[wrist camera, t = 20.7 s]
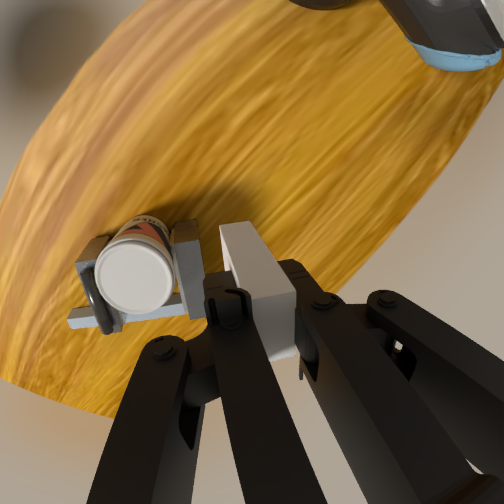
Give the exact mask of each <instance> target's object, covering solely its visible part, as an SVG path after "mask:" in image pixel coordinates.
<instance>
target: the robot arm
mask: <svg viewBox="0 0 504 504" xmlns="http://www.w3.org/2000/svg"><path fill="white" fill-rule="evenodd" d="M289 1H291V2H293V3H295V4H297V5H300V6H303V7H306V8H310V9H315V10H331V9H335V8H338V7H340V6H342V5H344V4H345V3H347V2H349V1H350V0H289ZM379 1H380V3H381V4H382V5H383V6H384V8H385V9H386V10H387V11H388V13H389V14H390V15H391V17H392V18H393V19H394V21H395V22H396V23H397V25H398V26H399V28H400V29H401V30H402V32H403V33H404V35H405V38H406V40H407V41H408V42H409V43H411V44H412V46H413V47H414V48H415V50H416V51H417V53H418V54H419V56H420V57H421V58H422V59H423V61H424V62H426V63H427V64H429V65H430V66H433V67H435V68H437V69H440V70H445V71H453V72H465V71H475V70H481V69H484V68H485V67H486V66H493V65H495V64H496V63H497V62H498V61H499V60H500V59H501V48H504V0H379ZM219 228H220V236H221V244H222V251H223V259H224V267H225V271H223V272H217V273H211V274H207V275H206V276H205V278H204V280H203V281H202V282H203V289H204V296H205V299H204V308H205V313H206V318H207V323H208V325H207V327H206V329H205V330H204V331H203V332H202V333H201V334H200V335H199V336H197V337H195V338H193V339H191V340H188V341H186V342H185V341H184V340H183V339H181V338H179V337H178V336H172V335H166V336H160V337H157V338H155V339H152V340H151V341H150V342H148V343H147V344H146V345H145V347H144V348H143V350H142V352H141V354H140V356H139V359H138V361H137V364H136V366H135V368H134V371H133V373H132V376H131V378H130V381H129V383H128V386H127V388H126V391H125V393H124V396H123V398H122V401H121V403H120V406H119V409H118V411H117V414H116V417H115V419H114V422H113V425H112V427H111V430H110V433H109V436H108V439H107V442H106V444H105V447H104V450H103V453H102V456H101V459H100V462H99V465H98V468H97V471H96V474H95V477H94V480H93V483H92V486H91V490H90V493H89V496H88V500H87V503H86V504H191V500H192V492H193V485H194V478H195V470H196V464H197V457H198V451H199V444H200V437H201V431H202V424H203V418H204V410H205V404H206V403H208V402H210V401H212V400H214V399H217V398H219V397H221V400H222V405H223V410H224V415H225V420H226V424H227V429H228V434H229V437H230V443H231V447H232V451H233V455H234V460H235V464H236V468H237V472H238V476H239V480H240V484H241V488H242V492H243V496H244V500H245V503H246V504H328V503H327V501H326V499H325V497H324V494H323V492H322V490H321V487H320V485H319V483H318V480H317V478H316V475H315V473H314V470H313V468H312V466H311V463H310V461H309V458H308V456H307V454H306V452H305V449H304V446H303V444H302V442H301V439H300V437H299V434H298V432H297V429H296V427H295V424H294V422H293V419H292V417H291V415H290V412H289V410H288V408H287V405H286V403H285V400H284V397H283V394H282V392H281V389H280V387H279V384H278V382H277V379H276V377H275V374H274V372H273V369H272V367H271V364H270V361H274V360H278V359H283V358H287V357H291V356H294V355H295V344H296V346H297V348H298V350H299V352H300V364H299V378H300V380H303V372H304V374H305V376H306V378H307V380H308V382H309V384H310V387H311V389H312V391H313V393H314V394H315V397H316V399H317V401H318V403H319V405H320V407H321V409H322V411H323V413H324V415H325V417H326V419H327V421H328V423H329V425H330V427H331V429H332V432H333V434H334V436H335V438H336V440H337V442H338V443H339V446H340V448H341V450H342V452H343V454H344V456H345V458H346V460H347V462H348V464H349V466H350V468H351V470H352V472H353V474H354V476H355V478H356V480H357V482H358V484H359V486H360V488H361V490H362V492H363V494H364V496H365V498H366V500H367V502H368V504H504V361H502V360H501V359H499V358H498V357H497V356H495V355H494V354H492V353H491V352H489V351H488V350H486V349H485V348H483V347H482V346H480V345H479V344H477V343H476V342H474V341H473V340H471V339H470V338H468V337H467V336H465V335H463V334H462V333H461V332H459V331H457V330H456V329H454V328H453V327H451V326H450V325H448V324H447V323H445V322H443V321H442V320H440V319H439V318H437V317H436V316H434V315H433V314H431V313H429V312H428V311H426V310H424V309H423V308H421V307H420V306H418V305H416V304H415V303H413V302H412V301H410V300H408V299H407V298H405V297H404V296H402V295H400V294H398V293H396V292H394V291H390V290H378V291H374V292H372V293H371V294H370V295H369V296H368V299H367V304H346V303H345V302H344V301H343V300H342V299H341V298H340V297H338V296H337V295H335V294H333V293H329V292H324V291H323V290H322V289H321V287H320V286H319V285H318V284H317V282H316V281H315V280H314V279H313V277H312V276H310V274H309V273H308V271H306V269H305V268H304V266H303V265H302V264H301V263H299V262H297V261H295V260H293V259H288V260H282V261H276V259H275V258H274V256H273V255H272V253H271V252H270V250H269V249H268V247H267V246H266V244H265V243H264V241H263V240H262V238H261V237H260V236H259V234H258V233H257V231H256V230H255V228H254V227H253V225H252V224H251V222H250V221H244V222H237V223H230V224H224V225H219ZM396 341H398V342H400V343H401V344H402V345H403V347H402V349H401V350H398V349H397V348H395V344H396ZM465 458H466V459H467V460H468V461H469V462H470V463H472V464H473V465H474V466H475V467H476V468H478V469H479V470H480V471H481V472H482V473H483V474H479V473H477V472H475V471H474V470H473V469H472V467H471V466H470V465H469V463H468V462H467V460H466V459H465Z"/></svg>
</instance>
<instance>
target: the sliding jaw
mask: <svg viewBox="0 0 504 504" xmlns="http://www.w3.org/2000/svg"><path fill="white" fill-rule="evenodd" d="M110 242H111V237H110V235H109V236H104V237H99V238H94V239H91V241H90V242H89V243H88V245H87V246H86V247H85V249H84V250H83V252H82V253H81V255H80V256H79V257H78V259H77V260H76V262H75V266H76V269H77V272H78V275H79V277H80V280H81V283H82V286H83V288H84V291H85V294H86V296H87V299H88V301H89V304H90V306H91V309H92V311H93V314H94V316H95V318H96V321H97V323H98V325H99V327H100V330H101V332H102V334H105V335H109V334H111V333H116V332H122V328H123V324H126V319H127V315H128V313H125V312H123V311H120V310H118V309H116V308H114V307H113V306H111V305H110V304H109V303H108V302H107V301H106V300H105V299H104V298H103V296H102V295H101V293H100V291H99V289H98V287H97V284H96V280H95V265H96V261H97V259H98V256H99V255H100V253H101V252H102V250H103V249H104V248H105V247H106V246H107V245H108V244H109V243H110Z"/></svg>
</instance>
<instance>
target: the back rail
mask: <svg viewBox="0 0 504 504" xmlns="http://www.w3.org/2000/svg"><path fill="white" fill-rule="evenodd" d="M182 314H189V313H185V311H184V307H183V303H182V299H181V295H180V293H178V294H172V295H171V296H170V298H169V299H168V300H167V302H166V303H165V304H163V305H162V306H161V307H160V308H158V309H156V310H155V311H152V312H150V313H146V314H130V313H128V315H127V319H126V323H127V322H135V321H142V320H149V319H156V318H163V317H169V316H176V315H182ZM67 321H68V323H69V325H70V327H71V329H77V328H86V327H95V326H99V325H98V323H97V321H96V318H95V316H94V314H93V311H92V309H91V306H90V307H83V308H75V309H72V310H71V312H70V314H69V316H68V318H67Z"/></svg>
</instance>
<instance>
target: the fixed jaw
mask: <svg viewBox="0 0 504 504" xmlns="http://www.w3.org/2000/svg"><path fill="white" fill-rule="evenodd" d="M170 250H171V252H172V256H173V264H174V269H175V273H176V278H177V282H178V287H179V291H180V295H181V299H182V303H183V307H184V311H185V313H189V317H190V320H192V319H198V318H204V317H206V313H205V308H204V299H205V296H204V289H203V282H202V281H203V280H204V278H205V271H204V266H203V260H202V254H201V248H200V241H199V235H198V228H197V222H196V219H193V220H187V221H181V222H175V228H173V229H171V237H170Z"/></svg>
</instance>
